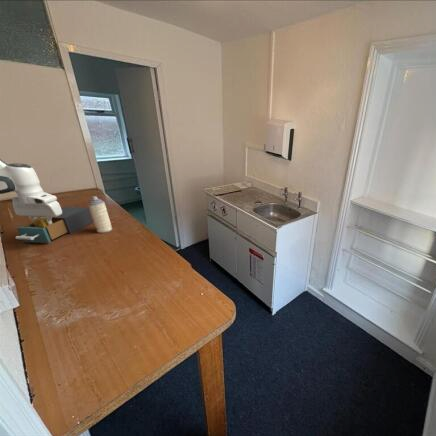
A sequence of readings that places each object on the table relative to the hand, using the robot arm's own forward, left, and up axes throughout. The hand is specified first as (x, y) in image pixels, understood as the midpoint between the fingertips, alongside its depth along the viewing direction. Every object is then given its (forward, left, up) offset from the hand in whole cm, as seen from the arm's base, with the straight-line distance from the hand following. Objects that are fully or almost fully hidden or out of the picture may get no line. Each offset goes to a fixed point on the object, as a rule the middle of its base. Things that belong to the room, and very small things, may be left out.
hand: (43, 223), depth 118 cm
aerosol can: (+21, +11, -8) cm, 25 cm away
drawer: (0, -1, -7) cm, 7 cm away
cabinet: (0, +13, -8) cm, 15 cm away
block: (0, 0, -2) cm, 2 cm away
